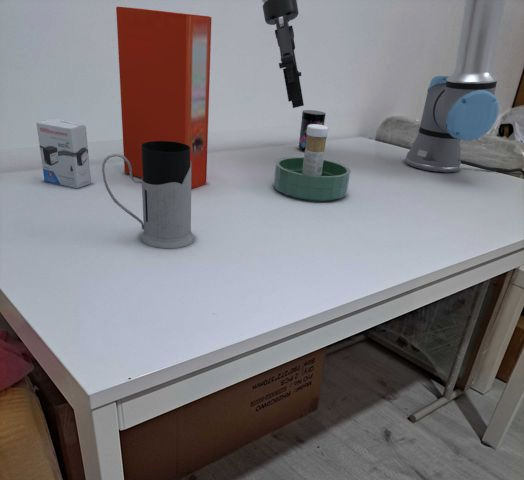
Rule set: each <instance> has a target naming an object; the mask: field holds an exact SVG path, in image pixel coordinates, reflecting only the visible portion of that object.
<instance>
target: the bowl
mask: <svg viewBox="0 0 524 480" xmlns="http://www.w3.org/2000/svg"><path fill="white" fill-rule="evenodd" d="M303 161H304V156H293V157H292V156H291V157H285V158H280V159H277V160H276V162H275V170H274V179H273V187H274V189H275V190H277V191H278V192H280V193H282V194H284V195H286V196H287V197H288V196H289V197H290V198H294V199H297V200H302V201H303V200H304V201H310V202H311V201H312V202H330V201H334V200H339V199H342V198H344V197H346V195H347V193H348V188H349V184H350V179H351V173H352V172H351V169H350V168H349V167H347V166H346V165H344V164H342V163H339V162H336V161H332V160H328V159H324V161H323V168H322V175H321V176H313V175H306V174H302V170H303Z"/></svg>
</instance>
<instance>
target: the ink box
mask: <svg viewBox="0 0 524 480" xmlns="http://www.w3.org/2000/svg"><path fill="white" fill-rule="evenodd" d="M35 125H36V131H37V136H38V144H39V151H40V158H41V166H42V173H43V181H44V182H46V183H50V184H55V185H58V186H59V185H60V186H65V187H69V188H72V189H80V188H82V187H85V186H88V185H91V184H92V178H91V177H92V176H91V167H90V156H89V145H88V136H87V126H86V125H85V124H84V123H79V122H74V121H70V120H63V119H58V118H50V119H46V120H42V121H37V122H36V124H35Z"/></svg>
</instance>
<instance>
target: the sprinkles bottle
mask: <svg viewBox="0 0 524 480" xmlns="http://www.w3.org/2000/svg"><path fill="white" fill-rule="evenodd" d="M306 134H307V140H306V147H305V151H304V156H303V157H304V161H303V170H302V174H306V175H313V176H321V175H322V168H323V161H324V160H325V152H326V151H325V150H326V143H327V138H328V134H329V127H328V125H325V124H324V125H318V124H310V125H308V126H307V133H306Z"/></svg>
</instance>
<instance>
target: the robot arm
mask: <svg viewBox="0 0 524 480" xmlns="http://www.w3.org/2000/svg"><path fill="white" fill-rule="evenodd" d="M261 2H262V3H263V4H262V11H263V18H264V21H265V23H266V24H267V25H269V26H275V27H276V29H274V35H275V39H276V42H277V46H278V47H279V54H280V62H278V67H279V69H280V70H281V69H282V71H283V78H284V83H285V88H286V95H287V100H288V103H290V102H291V106H292V109H295V108H300V107H304V106H305V103H304V98H303V91H302V86H301V79H300V77H302V71H299V70H298V65H297V60H296V54H295V53H296V52H295V50H296V45H295V44H296V43H295V39H294V38H295V32H294V28H293V25H290V24H289V22H290V21H293V20H295V19H296V18H297V17H298V16H299V7H298V0H261ZM505 4H506V0H464V7H463V13H462V19H461V25H460V33H459V39H458V46H457V54H456V58H455V64H454V70H453V72H452V73H451V74H450V75H436V76H433V77H432V78H431V79H430V82H429V85H428V88H427V93H426V98H425V102H424V107H423V111H422V114H421V120H420V124H419V129H418V134H417V136H416V138H415V139H414V141H413V143H412V145H411V147H410V149H409V150H408V152H407V153H406V156H405V161H404V162H405V164H407V166H410V167H413V168H415V169H418V170H422V171H427V172H435V173H446V174H447V173H456V172H459V171H460V167H461V164H462V165H465V166H469V167H474V168H477V169H480V170H485V171H490V172H491V171H493V172H499V173H507V174H508V173H516V172H519V173H522V175H524V171H523V170H522V169H523V168H522V167H516V168H509V169H508V168H502V167H493V166H492V167H490V166H485V165H483V164H482V165H481V164H479V163H474V162H470V161H467V160H462V159H461V141H468V142H469V141H474V140H477V139H479V138H481V137H483V136H484V135H486V134H487V133H488V132H489V131H490V130H491V129H492V128H493V127H494V126H495V123H496V122H497V120H498V116H499V113H500V112H499V111H500V106H499V101H498V99H497V97H496V95H495V93H496V89H497V83H498V78H497V76H496V74H494V71H493V69H494V64H495V63H494V62H495V57H496V52H497V47H498V42H499V36H500V31H501V27H502V21H503V15H504V10H505ZM521 168H522V169H521Z"/></svg>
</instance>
